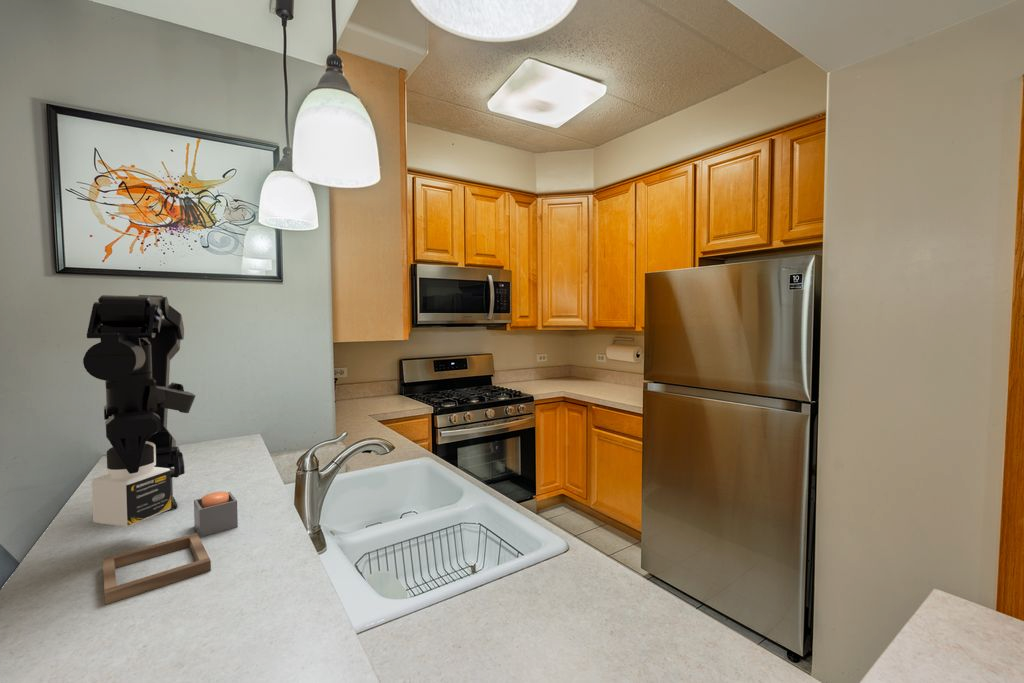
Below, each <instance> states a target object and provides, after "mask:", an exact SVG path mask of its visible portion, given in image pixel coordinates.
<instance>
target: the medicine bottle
mask: <svg viewBox="0 0 1024 683" xmlns="http://www.w3.org/2000/svg"><path fill="white" fill-rule="evenodd" d="M155 465H156V447H155V444H154V443H152V442H147V441H146V443H145V447H144V450H143V454H142V459H141V463H140V467H139V471H138V472H137V473H132V474H130V473H129V472H128V471H127V469H126V467H125V466H124V464H123V462H122V461H121V459H120V458H119V456H118V454H117V453H116V451H115V450H114V448H113V446H112V447H110V448H109V449H108V450H107V451H106V470H107V471H106V472H107V474H105V475H101V476H98V477H95V478H93V479H92V480H91V490H92V491H91V492H92V493H91V494H92V498H91V499H92V517H93V518H92V519H93V520H92V521H93V523H96V524H103V525H109V526H110V525H111V526H116V527H117V526H118V527H124V528H125V527H126V528H129V527H130V528H131V527H132V526H135V525H136V524H139V523H141V522H144V521H147V520H148V519H151V518H153V517H155V516H157V515H160V514H162V513H164V512H166V511H170V510H171V509H170V508H171V481H170V469H169V468H161V467H154V466H155ZM169 509H170V510H169Z"/></svg>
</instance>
